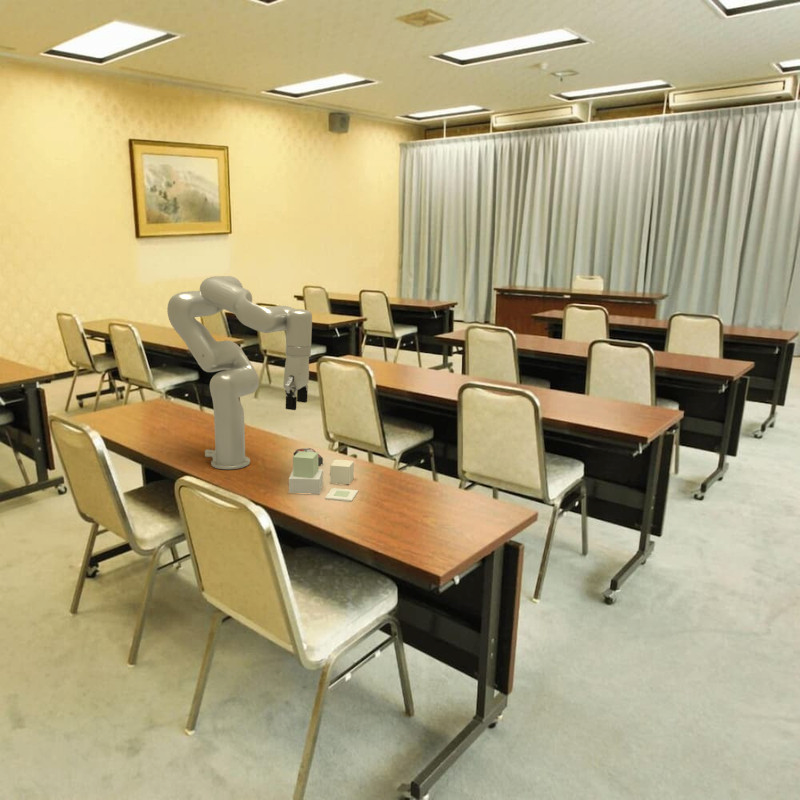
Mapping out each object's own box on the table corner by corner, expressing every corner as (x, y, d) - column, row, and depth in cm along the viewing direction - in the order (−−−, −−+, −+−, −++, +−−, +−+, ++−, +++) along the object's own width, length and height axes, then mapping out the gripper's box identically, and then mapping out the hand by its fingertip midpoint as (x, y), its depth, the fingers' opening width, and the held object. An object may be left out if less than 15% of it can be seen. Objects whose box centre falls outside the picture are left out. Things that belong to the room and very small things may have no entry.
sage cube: (293, 476, 195) (293, 457, 193) (299, 469, 200) (299, 450, 199) (312, 477, 194) (312, 458, 192) (318, 471, 200) (318, 452, 198)
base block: (289, 494, 194) (288, 478, 193) (293, 483, 203) (293, 468, 201) (319, 495, 194) (319, 479, 193) (322, 484, 203) (322, 469, 202)
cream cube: (330, 483, 203) (330, 465, 202) (335, 477, 209) (335, 459, 207) (349, 485, 202) (349, 466, 201) (353, 478, 208) (353, 460, 207)
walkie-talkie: (287, 457, 228) (305, 475, 210) (287, 445, 227) (305, 462, 209) (312, 454, 231) (331, 472, 214) (311, 442, 230) (331, 459, 213)
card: (324, 499, 190) (324, 497, 190) (332, 489, 198) (332, 487, 198) (351, 501, 189) (351, 499, 189) (358, 491, 197) (358, 489, 197)
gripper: (296, 345, 206) (294, 397, 210) (275, 354, 190) (274, 411, 194) (319, 347, 205) (317, 400, 209) (300, 356, 188) (298, 414, 193)
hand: (296, 405), depth 201 cm, fingers open, 9 cm apart
